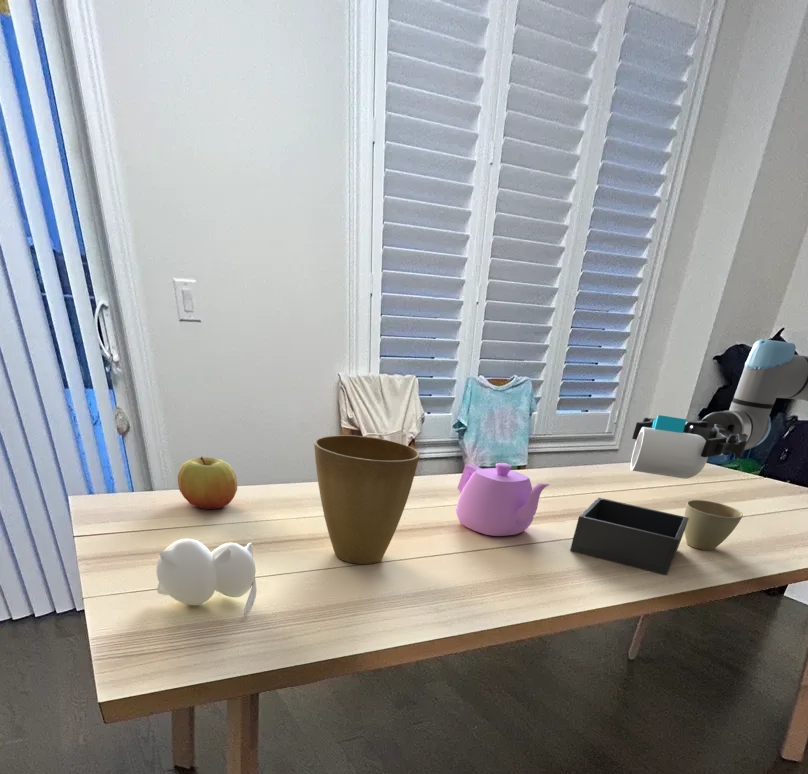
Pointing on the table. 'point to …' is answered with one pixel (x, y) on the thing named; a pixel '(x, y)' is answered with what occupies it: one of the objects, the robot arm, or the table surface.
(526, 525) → the teapot
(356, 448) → the plant pot
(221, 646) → the table surface
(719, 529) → the flower pot
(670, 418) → the mug
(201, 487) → the apple
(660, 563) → the open storage box
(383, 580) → the table surface
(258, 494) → the table surface
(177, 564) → the cat figurine
